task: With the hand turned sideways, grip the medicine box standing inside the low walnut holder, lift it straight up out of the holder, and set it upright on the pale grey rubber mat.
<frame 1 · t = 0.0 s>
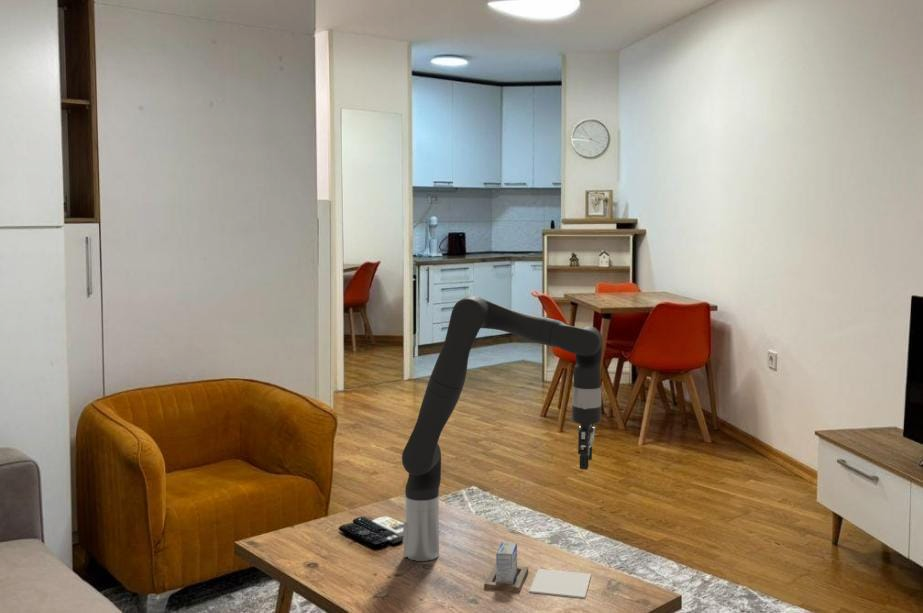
hand: (585, 464, 228), 29 cm above the table, tool pointing down, fingers open, 8 cm apart
medicine box: (506, 580, 226), resting in box holder
box holder: (506, 579, 226), on the table
grey mat: (560, 583, 223), on the table
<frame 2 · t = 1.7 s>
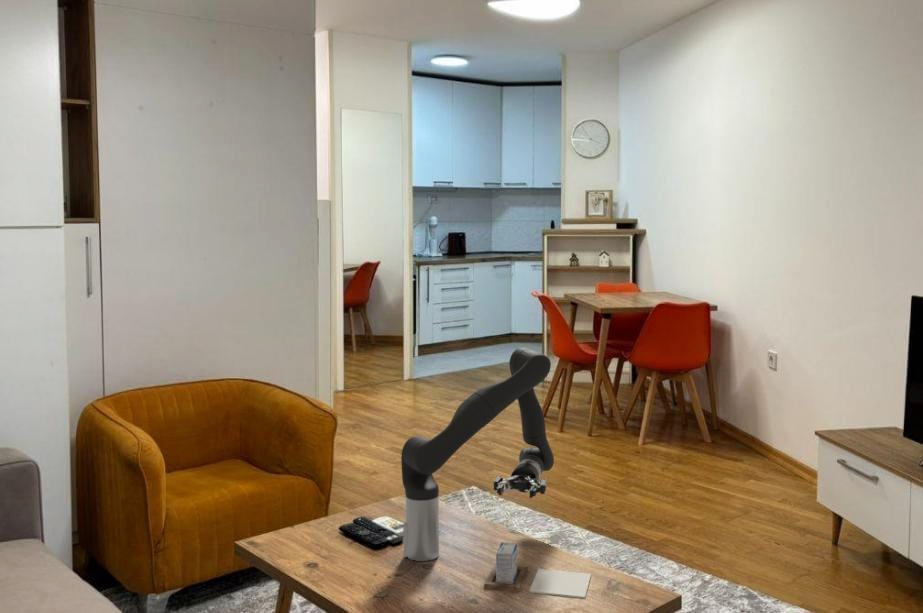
hand: (515, 493, 234), 20 cm above the table, tool horizontal, fingers open, 8 cm apart
nothing on the table moved.
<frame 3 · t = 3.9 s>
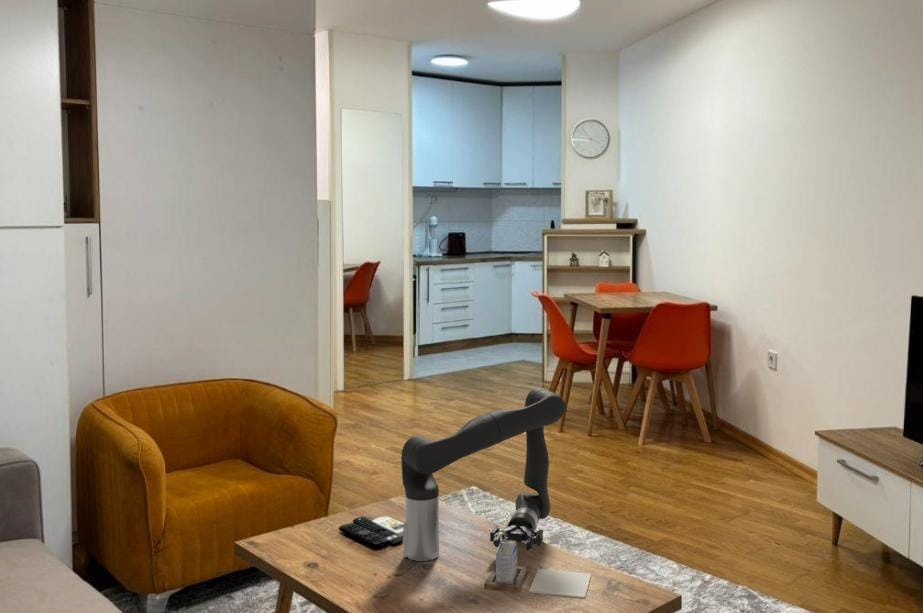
hand: (512, 545, 232), 7 cm above the table, tool horizontal, fingers open, 8 cm apart
nothing on the table moved.
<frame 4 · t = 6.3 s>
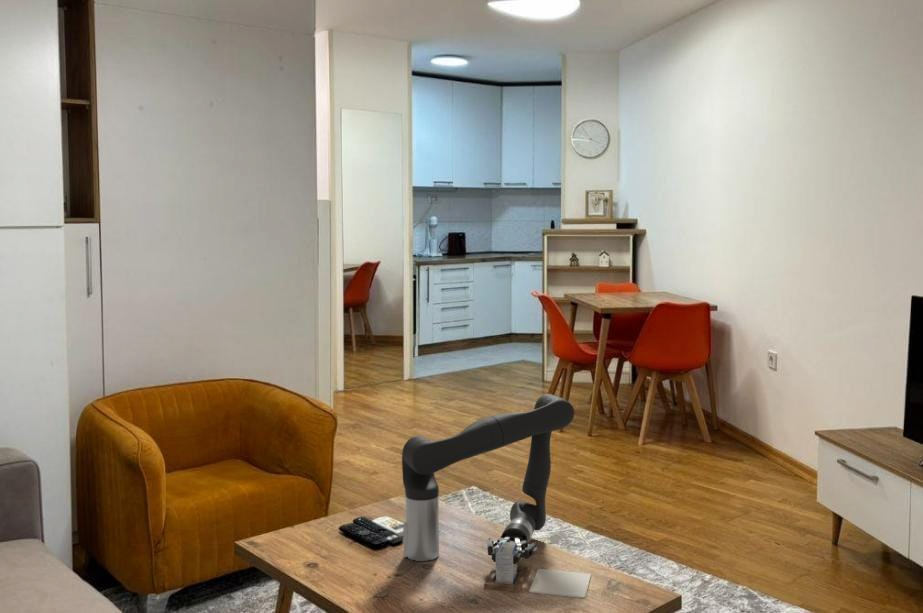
hand: (504, 559, 223), 7 cm above the table, tool horizontal, fingers closed on medicine box, 4 cm apart
medicine box: (506, 580, 226), resting in box holder, touching gripper
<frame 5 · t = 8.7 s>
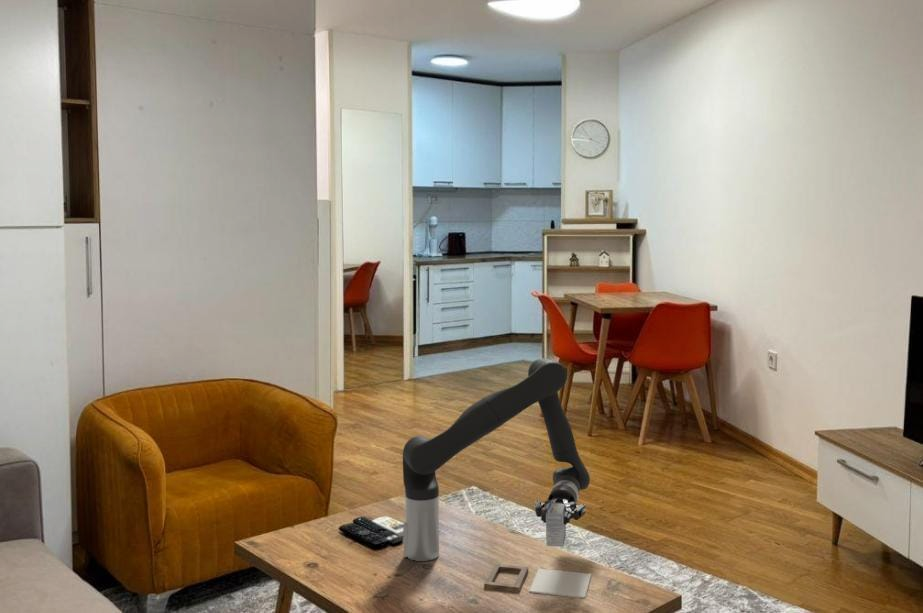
hand: (554, 519, 219), 18 cm above the table, tool horizontal, fingers closed on medicine box, 4 cm apart
medicine box: (556, 541, 223), point 11 cm above the table, touching gripper
when the fingers open (8 cm above the table, at t = 11.2 s): medicine box stays where it is, resting on grey mat.
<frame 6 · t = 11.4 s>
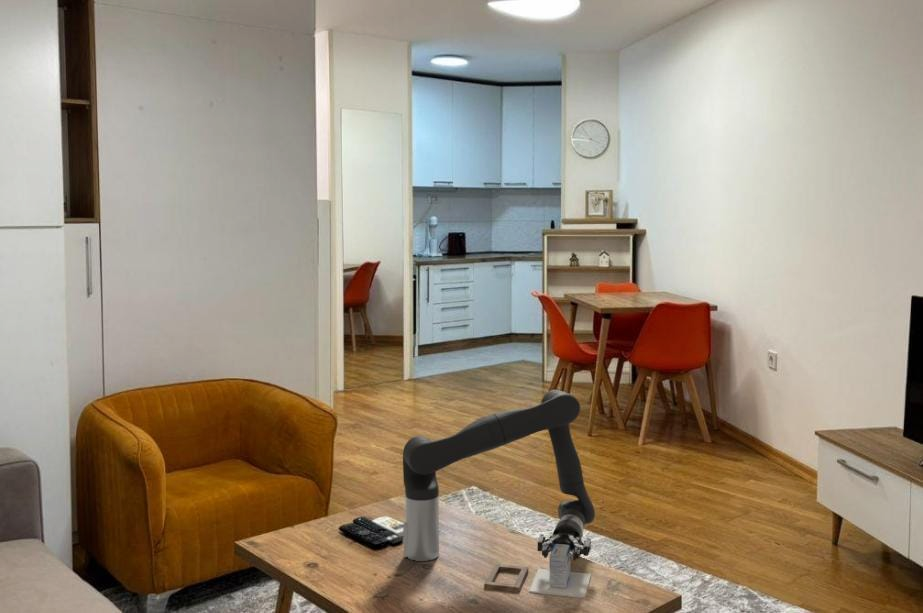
hand: (559, 555, 220), 8 cm above the table, tool horizontal, fingers open, 7 cm apart
medicine box: (559, 582, 223), resting on grey mat
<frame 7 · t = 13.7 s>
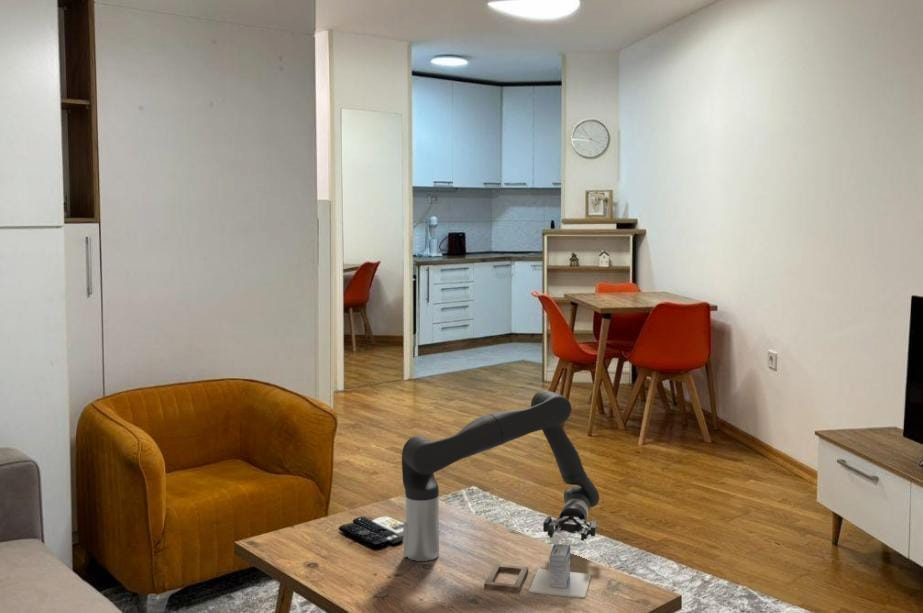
hand: (566, 535, 233), 9 cm above the table, tool horizontal, fingers open, 8 cm apart
nothing on the table moved.
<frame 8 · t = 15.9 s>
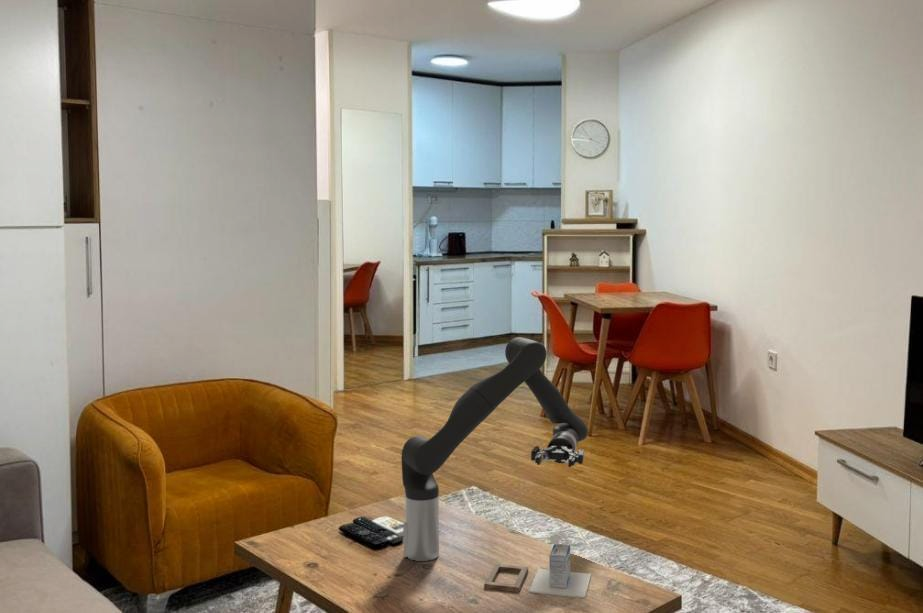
hand: (553, 462, 234), 28 cm above the table, tool horizontal, fingers open, 8 cm apart
nothing on the table moved.
at the end: medicine box inside the target area on the grey mat (0.3 cm from its centre), point 0.2 cm above the grey mat's base; medicine box tilted 0°; the gripper is holding nothing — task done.
